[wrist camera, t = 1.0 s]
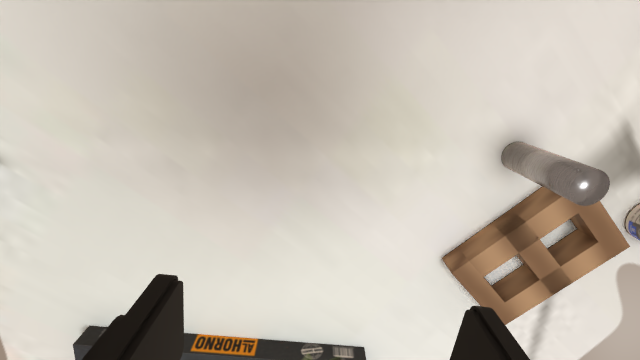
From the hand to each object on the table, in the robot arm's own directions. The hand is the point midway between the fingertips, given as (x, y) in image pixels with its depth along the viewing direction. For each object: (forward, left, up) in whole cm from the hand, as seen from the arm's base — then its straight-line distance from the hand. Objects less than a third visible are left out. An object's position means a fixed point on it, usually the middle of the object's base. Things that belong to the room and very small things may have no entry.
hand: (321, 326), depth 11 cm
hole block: (-10, +24, -25) cm, 36 cm away
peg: (-15, +14, -25) cm, 33 cm away
